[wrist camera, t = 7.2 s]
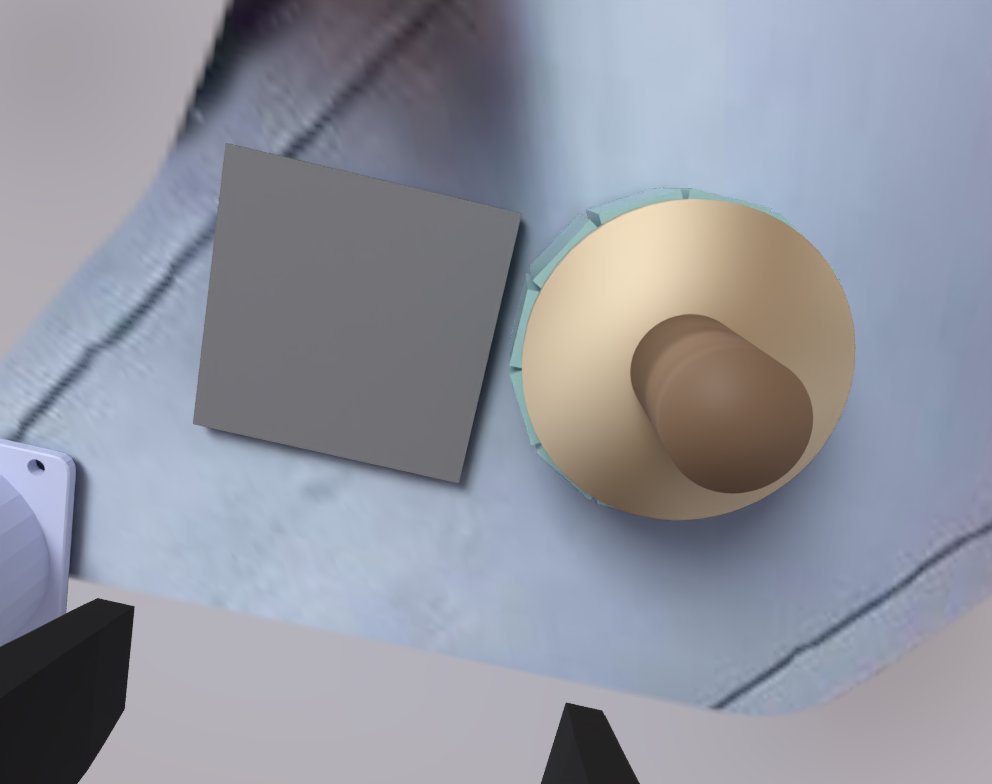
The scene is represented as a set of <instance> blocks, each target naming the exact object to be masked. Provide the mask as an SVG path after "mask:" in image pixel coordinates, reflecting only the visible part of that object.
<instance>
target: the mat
mask: <svg viewBox="0 0 992 784" xmlns="http://www.w3.org/2000/svg"><path fill="white" fill-rule="evenodd" d="M521 214H522V213H518V212H514V211H510V210H506V209H502V208H497V207H493V206H489V205H485V204H481V203H476V202H472V201H468V200H464V199H460V198H455V197H451V196H447V195H443V194H439V193H434V192H430V191H426V190H422V189H418V188H413V187H409V186H405V185H401V184H397V183H392V182H388V181H384V180H380V179H376V178H371V177H367V176H363V175H359V174H355V173H350V172H346V171H342V170H338V169H334V168H329V167H325V166H321V165H317V164H313V163H308V162H304V161H300V160H296V159H292V158H287V157H283V156H279V155H275V154H271V153H266V152H262V151H258V150H254V149H250V148H245V147H241V146H237V145H233V144H227V143H226V145H225V153H224V162H223V170H222V179H221V188H220V196H219V205H218V213H217V222H216V230H215V239H214V248H213V256H212V265H211V273H210V282H209V291H208V299H207V308H206V316H205V325H204V333H203V342H202V351H201V359H200V368H199V376H198V385H197V393H196V402H195V411H194V419H193V424H195V425H200V426H204V427H209V428H213V429H218V430H222V431H227V432H231V433H235V434H240V435H244V436H249V437H253V438H258V439H262V440H267V441H271V442H276V443H280V444H285V445H289V446H294V447H298V448H303V449H307V450H312V451H316V452H321V453H325V454H329V455H334V456H338V457H343V458H347V459H352V460H356V461H361V462H365V463H370V464H374V465H379V466H383V467H388V468H392V469H397V470H401V471H406V472H410V473H415V474H419V475H423V476H428V477H432V478H437V479H441V480H446V481H450V482H455V483H459V481H460V476H461V472H462V468H463V463H464V459H465V455H466V451H467V446H468V442H469V438H470V433H471V429H472V425H473V420H474V416H475V412H476V408H477V403H478V399H479V395H480V390H481V386H482V382H483V378H484V373H485V369H486V365H487V360H488V356H489V352H490V347H491V343H492V339H493V335H494V330H495V326H496V322H497V317H498V313H499V309H500V305H501V300H502V296H503V292H504V287H505V283H506V279H507V275H508V270H509V266H510V262H511V257H512V253H513V249H514V244H515V240H516V236H517V232H518V227H519V223H520V219H521Z"/></svg>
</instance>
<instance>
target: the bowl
mask: <svg viewBox="0 0 992 784" xmlns="http://www.w3.org/2000/svg"><path fill="white" fill-rule="evenodd" d="M678 199H705V200H720V201H726V202H731V203H736V204H741V205H745V206H748V207H751V208H754V209H757V210H759V211H762V212H765V213H767V214H769V215H771V216H773V217H775V218H777V219H779V220H781V221H783V222H785V223H786V224H787V225H789V226H790V227H792V228H793V229H794V230H796V229H795V228H794V226H793V225H792V224H791V223H790V222H789V221H788V220H787V219H786V218H785V217H784V216H783V215H782V214H781V213H776V212H771V209H772V208H770V207H766V206H762V205H758V204H754V203H749V202H745V201H741V200H737V199H733V198H729V197H725V196H720V195H716V194H712V193H708V192H704V191H700V190H696V189H691V188H653V189H650V190H647V191H644V192H641V193H637V194H634V195H631V196H628V197H624V198H621V199H618V200H615V201H612V202H608V203H605V204H602V205H599V206H596V207H592V208H589V209H586V212H587V216H588V219H587V218H585V217H583V216H581V215H579V214H578V215H577V216H576V217H575V218H574V219H573V221H572V222H571V223H570V224H569V225H568V226H567V227H566V228H565V229H564V230H563V231H562V232H561V233H560V234H559V235H558V236H557V238H556V239H555V240H554V241H553V242H552V243H551V244H550V245H549V246H548V247H547V248H546V249H545V250H544V251H543V252H542V254H541V255H540V256H539V257H538V258H537V259H536V260H535V261H534V262H533V263H532V264H531V265H530V268H531V274H532V275H531V274H527V273H526V275H525V280H524V284H523V288H522V292H521V296H520V300H519V305H518V309H517V313H516V317H515V321H514V325H513V329H512V334H511V338H510V360H509V365H510V378H511V381H512V384H513V387H514V391H515V394H516V397H517V400H518V404H519V407H520V410H521V413H522V416H523V420H524V423H525V426H526V429H527V432H528V436H529V439H530V442H531V445H533V444H536V453H537V454H538V455H540V456H541V457H542V458H543V459H544V460H545V461H546V462H547V463H549V464H550V465H551V466H552V467H553V468H554V469H555V470H556V471H557V472H559V473H560V474H561V475H562V476H563V477H564V478H565V479H566V480H568V481H569V482H570V483H571V484H572V485H573V486H574V487H575V488H576V489H578V490H579V491H580V492H581V493H582V494H583V495H584V496H585V497H587V498H588V499H589V500H591V499H592V498H593V496H591V495H590V494H588V493H586V492H585V491H583V490H582V489H581V488H580V487H578V486H577V485H576V484H575V483H574V482H572V481H571V480H570V479H569V478H568V477H567V476H566V475H565V474H564V473H563V472H562V471H561V470H560V469H559V468H558V467H557V466H556V464H555V463H554V462H553V460H552V459H551V458H550V456H549V455H548V453H547V452H546V451H545V449H544V448H543V446H542V444H541V442H540V440H539V438H538V436H537V434H536V432H535V430H534V428H533V425H532V422H531V419H530V417H529V414H528V411H527V406H526V401H525V396H524V392H523V378H522V352H523V340H524V336H525V331H526V326H527V321H528V318H529V316H530V313H531V310H532V307H533V304H534V302H535V300H536V298H537V296H538V294H539V292H540V289H541V287H542V285H543V284H544V282H545V281H546V279H547V278H548V276H549V275H550V273H551V272H552V270H553V269H554V267H555V266H556V265H557V263H558V262H559V261H560V260H561V259H562V258H563V257H564V255H565V254H566V253H567V252H568V251H569V250H570V249H571V248H572V247H573V246H574V245H575V244H577V243H578V242H579V241H580V240H581V239H582V238H583V237H584V236H586V235H587V234H588V233H590V232H591V231H593V230H594V229H596V228H597V227H599V226H600V225H602V224H603V223H605V222H607V221H609V220H610V219H612V218H614V217H616V216H618V215H620V214H622V213H624V212H627V211H630V210H633V209H636V208H638V207H641V206H644V205H648V204H652V203H657V202H662V201H666V200H678ZM796 231H797V230H796ZM797 232H798V231H797ZM827 263H828V262H827ZM828 264H829V263H828ZM831 268H832V267H831ZM832 270H833V271H835V270H834V269H833V268H832ZM838 280H839V282H840V279H838ZM597 503H598V505H602V506H607V507H611V508H614V507H612V506H610V505H608V504H605V503H603V502H601V501H599V500H598V499H597Z"/></svg>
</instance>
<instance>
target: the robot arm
mask: <svg viewBox="0 0 992 784" xmlns="http://www.w3.org/2000/svg"><path fill="white" fill-rule="evenodd" d="M36 459H37V460H39V461H41V462H42V463H43V465H44V467H45V471H44V470H42V469H40V468H39V467H38V466H37V464H36ZM75 477H76V467H75V463H74V462H73V460H72V458H70V457H69V456H68V455H67V454H64V453H62V452H59V451H54V450H50V449H45V448H41V447H36V446H31V445H27V444H22V443H18V442H13V441H9V440H4V439H0V784H77V783H78V782H79V781H80V779H81V778H82V777H83V775H84V774H85V773H86V772H87V770H88V769H89V767H90V766H91V764H92V762H93V761H94V759H95V757H96V756H97V754H98V753H99V751H100V750H101V748H102V746H103V745H104V743H105V742H106V740H107V738H108V736H109V735H110V733H111V731H112V730H113V728H114V726H115V725H116V723H117V721H118V720H119V718H120V716H121V714H122V713H123V711H124V709H125V700H126V689H127V679H128V669H129V659H130V648H131V638H132V628H133V618H134V606H130V605H126V604H121V603H116V602H112V601H108V600H103V599H99V598H97V599H95V600H93V601H91V602H89V603H86V604H84V605H82V606H80V607H78V608H76V609H74V610H72V611H70V612H68V613H66V606H67V593H68V578H69V564H70V549H71V535H72V520H73V506H74V492H75ZM541 784H640V783H639V782H638V780H637V778H636V776H635V774H634V772H633V770H632V768H631V766H630V764H629V762H628V760H627V758H626V756H625V754H624V752H623V750H622V749H621V746H620V744H619V742H618V740H617V738H616V736H615V734H614V732H613V730H612V728H611V726H610V724H609V722H608V720H607V718H606V716H605V715H604V713H603V711H602V710H597V709H593V708H588V707H584V706H579V705H575V704H570V703H566V704H565V707H564V710H563V714H562V717H561V720H560V723H559V727H558V730H557V733H556V736H555V740H554V743H553V746H552V749H551V753H550V756H549V759H548V762H547V766H546V769H545V772H544V775H543V778H542V782H541Z"/></svg>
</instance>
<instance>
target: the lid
mask: <svg viewBox="0 0 992 784" xmlns="http://www.w3.org/2000/svg"><path fill="white" fill-rule="evenodd" d="M855 350H856V347H855V334H854V325H853V320H852V316H851V311H850V307H849V304H848V301H847V299H846V296H845V293H844V291H843V288H842V286H841V284H840V282H839V280H838V279H837V277H836V275H835V273H834V271H833V270H832V268H831V266H830V265H829V264H828V263H827V261H826V260H825V259H824V257H823V256H822V255H821V253H820V252H819V251H818V250H817V249H816V248H815V247H814V246H813V245H812V244H811V243H810V242H809V241H808V240H807V239H806V238H805V237H804V236H803V235H801V234H800V233H799V232H797V231H796V230H794V229H793V228H792V227H790V226H789V225H787V224H786V223H785V222H783V221H781V220H779V219H777V218H775V217H773V216H771V215H769V214H767V213H765V212H762V211H759V210H757V209H754V208H751V207H748V206H745V205H741V204H736V203H731V202H726V201H720V200H705V199H678V200H666V201H662V202H657V203H652V204H648V205H644V206H641V207H638V208H636V209H633V210H630V211H627V212H624V213H622V214H620V215H618V216H616V217H614V218H612V219H610V220H609V221H607V222H605V223H603V224H602V225H600V226H599V227H597V228H596V229H594V230H593V231H591V232H590V233H588V234H587V235H586V236H584V237H583V238H582V239H581V240H580V241H579V242H578V243H577V244H575V245H574V246H573V247H572V248H571V249H570V250H569V251H568V252H567V253H566V254H565V255H564V257H563V258H562V259H561V260H560V261H559V262H558V263H557V265H556V266H555V267H554V269H553V270H552V272H551V273H550V275H549V276H548V278H547V279H546V281H545V282H544V284H543V285H542V287H541V289H540V292H539V294H538V296H537V298H536V300H535V302H534V304H533V307H532V310H531V313H530V316H529V318H528V321H527V326H526V331H525V336H524V340H523V352H522V378H523V392H524V396H525V401H526V406H527V411H528V414H529V417H530V419H531V422H532V425H533V428H534V430H535V432H536V434H537V436H538V438H539V440H540V442H541V444H542V446H543V448H544V449H545V451H546V452H547V453H548V455H549V456H550V458H551V459H552V460H553V462H554V463H555V464H556V466H557V467H558V468H559V469H560V470H561V471H562V472H563V473H564V474H565V475H566V476H567V477H568V478H569V479H570V480H571V481H572V482H574V483H575V484H576V485H577V486H578V487H580V488H581V489H582V490H583V491H585V492H586V493H588V494H590V495H591V496H593V497H594V498H596V499H598V500H599V501H601V502H603V503H605V504H608V505H610V506H612V507H614V508H616V509H618V510H622V511H625V512H628V513H631V514H634V515H638V516H643V517H649V518H654V519H664V520H691V519H701V518H707V517H713V516H718V515H722V514H725V513H728V512H732V511H735V510H738V509H741V508H743V507H745V506H748V505H750V504H752V503H755V502H757V501H759V500H761V499H762V498H764V497H766V496H768V495H769V494H771V493H773V492H775V491H776V490H778V489H779V488H780V487H782V486H783V485H784V484H786V483H787V482H789V481H790V480H791V479H793V478H794V477H795V476H796V475H797V474H798V473H799V472H800V471H801V470H802V469H803V468H804V467H805V466H807V465H808V464H809V463H810V461H811V460H812V459H813V458H814V457H815V455H816V454H817V453H818V452H819V451H820V449H821V448H822V447H823V445H824V444H825V442H826V441H827V439H828V438H829V436H830V435H831V433H832V432H833V430H834V428H835V426H836V424H837V422H838V420H839V418H840V416H841V414H842V412H843V410H844V407H845V404H846V401H847V398H848V395H849V392H850V388H851V383H852V378H853V373H854V366H855Z"/></svg>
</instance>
